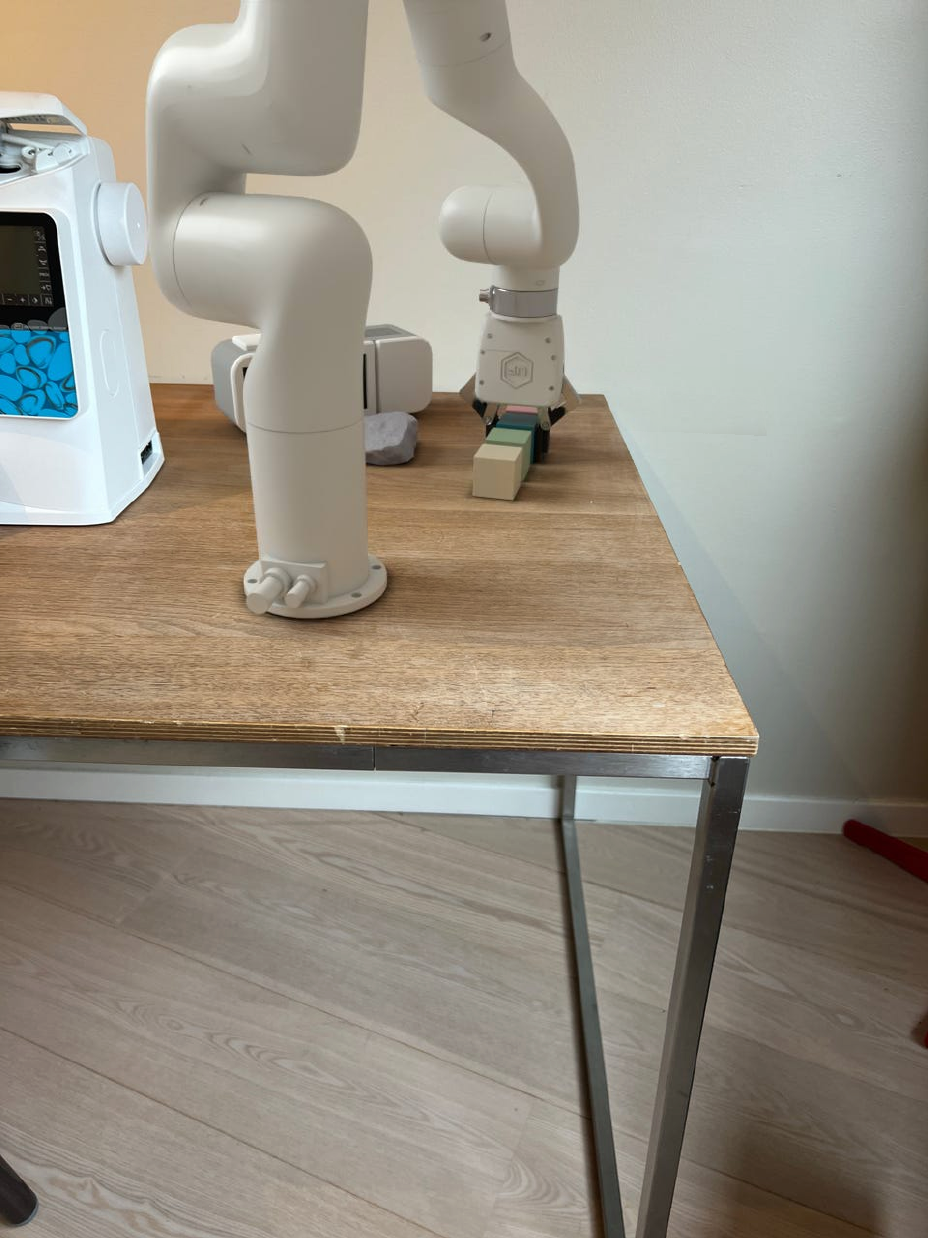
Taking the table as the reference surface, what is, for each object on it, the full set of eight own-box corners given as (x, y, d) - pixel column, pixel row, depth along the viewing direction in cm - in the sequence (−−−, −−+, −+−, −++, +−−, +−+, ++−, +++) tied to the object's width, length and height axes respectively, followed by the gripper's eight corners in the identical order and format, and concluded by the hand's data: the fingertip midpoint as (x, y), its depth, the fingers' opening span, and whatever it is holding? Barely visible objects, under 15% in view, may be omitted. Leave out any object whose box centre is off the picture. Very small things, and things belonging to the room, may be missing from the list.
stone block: (410, 480, 108) (421, 438, 116) (407, 445, 105) (419, 404, 113) (313, 477, 110) (331, 436, 117) (307, 443, 106) (325, 402, 114)
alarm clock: (240, 447, 112) (229, 350, 106) (218, 426, 119) (207, 334, 113) (433, 418, 124) (433, 329, 119) (402, 400, 131) (401, 316, 125)
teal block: (531, 463, 109) (534, 426, 107) (494, 460, 110) (496, 423, 108) (537, 451, 113) (540, 415, 111) (502, 448, 114) (503, 412, 112)
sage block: (522, 481, 104) (524, 443, 102) (483, 477, 105) (485, 439, 103) (529, 468, 108) (531, 431, 106) (491, 464, 109) (493, 427, 107)
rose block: (539, 448, 114) (541, 413, 112) (503, 445, 115) (505, 409, 113) (544, 437, 118) (547, 402, 116) (510, 434, 119) (512, 399, 117)
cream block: (513, 500, 99) (515, 460, 97) (472, 496, 100) (473, 456, 98) (520, 485, 103) (522, 447, 101) (481, 481, 104) (482, 443, 102)
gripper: (443, 304, 101) (442, 458, 110) (595, 314, 98) (581, 472, 107) (459, 292, 107) (457, 439, 117) (602, 301, 104) (588, 452, 113)
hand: (516, 453), depth 112 cm, fingers open, 5 cm apart
